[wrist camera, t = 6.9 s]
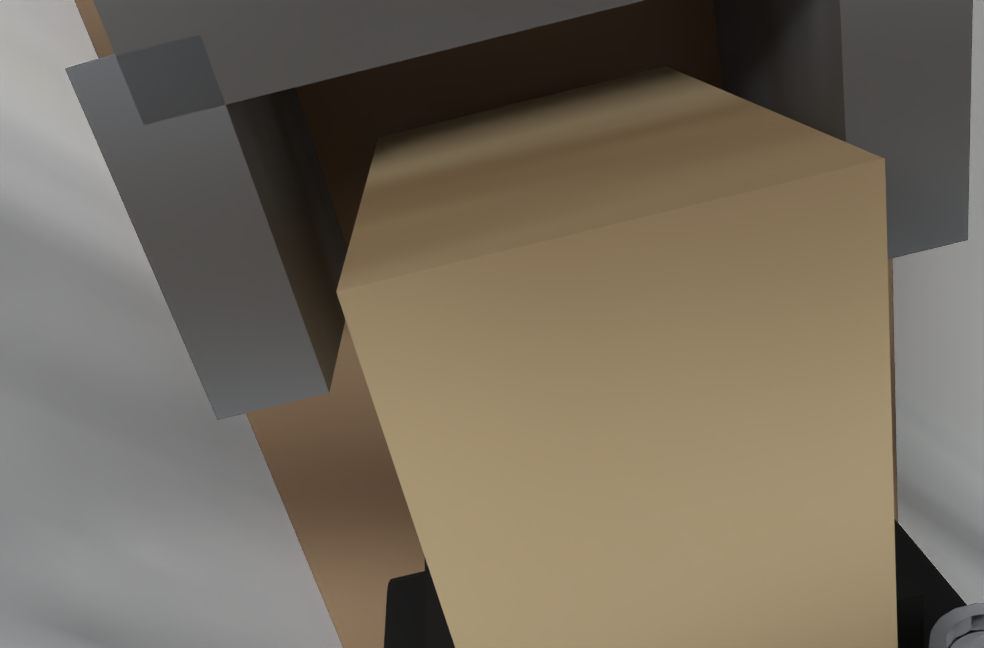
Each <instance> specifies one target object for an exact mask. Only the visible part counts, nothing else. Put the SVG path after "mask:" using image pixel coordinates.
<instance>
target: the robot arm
mask: <svg viewBox="0 0 984 648" xmlns="http://www.w3.org/2000/svg"><path fill="white" fill-rule="evenodd" d="M894 525H895V564H896V602H897V641H898V648H984V603H981V604H971V605H966V604H965V602H964V601H963V600H962V599H961V598H960V596H959V595H958V594H957V593H956V592H955V590H954V589H953V588H952V587H951V586H950V584H949V583H948V582H947V581H946V580H945V578H944V577H943V576H942V575H941V574H940V573H939V571H938V570H937V569H936V568H935V567H934V565H933V564H932V563H931V562H930V561H929V559H928V558H927V557H926V556H925V555H924V553H923V552H922V551H921V550H920V549H919V547H918V546H917V545H916V544H915V543H914V542H913V540H912V539H911V538H910V537H909V536H908V534H907V533H906V532H905V531H904V530H903V528H902V527H901V526H900V525H899V524H898V522H897V521H896V520H895V519H894ZM384 648H455V645H454V642H453V639H452V636H451V633H450V630H449V627H448V625H447V622H446V619H445V616H444V613H443V610H442V607H441V604H440V601H439V598H438V595H437V592H436V589H435V586H434V583H433V580H432V577H431V574H430V571H429V568H428V565H427V562H426V559H425V571H422V572H418V573H414V574H410V575H405V576H401V577H397V578H393V579H390V581H389V583H388V588H387V600H386V617H385V634H384Z"/></svg>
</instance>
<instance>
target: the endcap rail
mask: <svg viewBox="0 0 984 648" xmlns="http://www.w3.org/2000/svg"><path fill="white" fill-rule="evenodd" d="M75 3H76V5H77V7H78V10H79V12H80V15H81V17H82V19H83V22H84V24H85V27H86V29H87V32H88V34H89V36H90V39H91V41H92V44H93V46H94V48H95V51H96V53H97V56H98V58H99V59H96V60H92V61H89V62H86V63H82V64H79V65H76V66H73V67H69V68H66V69H65V70H66V72H67V74H68V76H69V79H70V81H71V83H72V86H73V88H74V90H75V93H76V95H77V97H78V100H79V102H80V104H81V106H82V109H83V111H84V113H85V116H86V118H87V120H88V123H89V125H90V127H91V129H92V132H93V134H94V136H95V139H96V141H97V143H98V146H99V148H100V150H101V153H102V155H103V157H104V159H105V162H106V164H107V166H108V169H109V171H110V173H111V176H112V178H113V180H114V182H115V185H116V187H117V189H118V192H119V194H120V196H121V199H122V201H123V203H124V205H125V208H126V210H127V212H128V215H129V217H130V219H131V222H132V224H133V226H134V229H135V231H136V233H137V235H138V238H139V240H140V242H141V245H142V247H143V249H144V252H145V254H146V256H147V258H148V261H149V263H150V265H151V268H152V270H153V272H154V275H155V277H156V279H157V281H158V284H159V286H160V288H161V291H162V293H163V295H164V298H165V300H166V302H167V305H168V307H169V309H170V311H171V314H172V316H173V318H174V321H175V323H176V325H177V328H178V330H179V332H180V334H181V337H182V339H183V341H184V344H185V346H186V348H187V351H188V353H189V355H190V358H191V360H192V362H193V364H194V367H195V369H196V371H197V374H198V376H199V378H200V381H201V383H202V385H203V387H204V390H205V392H206V394H207V397H208V399H209V401H210V404H211V406H212V408H213V410H214V413H215V415H216V417H217V420H219V419H223V418H227V417H231V416H235V415H240V414H244V413H246V415H247V417H248V419H249V422H250V424H251V427H252V429H253V431H254V434H255V436H256V439H257V441H258V443H259V446H260V448H261V451H262V453H263V455H264V458H265V460H266V463H267V465H268V468H269V470H270V472H271V475H272V477H273V480H274V482H275V484H276V487H277V489H278V492H279V494H280V496H281V499H282V501H283V504H284V506H285V508H286V511H287V513H288V516H289V518H290V520H291V523H292V525H293V528H294V530H295V533H296V535H297V537H298V540H299V542H300V545H301V547H302V549H303V552H304V554H305V557H306V559H307V561H308V564H309V566H310V569H311V571H312V573H313V576H314V578H315V581H316V583H317V586H318V588H319V590H320V593H321V595H322V598H323V600H324V602H325V605H326V607H327V610H328V612H329V614H330V617H331V619H332V622H333V624H334V626H335V629H336V631H337V634H338V636H339V639H340V641H341V643H342V646H343V648H384V634H385V617H386V600H387V588H388V583H389V581H390V579H393V578H397V577H401V576H405V575H410V574H414V573H418V572H422V571H425V556H424V553H423V550H422V547H421V544H420V541H419V538H418V535H417V532H416V529H415V526H414V523H413V520H412V517H411V514H410V511H409V508H408V505H407V502H406V499H405V496H404V493H403V490H402V487H401V484H400V481H399V478H398V475H397V472H396V469H395V466H394V463H393V460H392V457H391V454H390V451H389V448H388V445H387V442H386V439H385V436H384V433H383V430H382V427H381V424H380V421H379V418H378V415H377V412H376V409H375V406H374V403H373V400H372V397H371V394H370V391H369V388H368V385H367V382H366V379H365V376H364V373H363V370H362V367H361V364H360V361H359V358H358V355H357V352H356V349H355V346H354V343H353V340H352V337H351V334H350V331H349V329H348V326H347V323H346V320H345V317H344V314H343V311H342V308H341V305H340V302H339V299H338V296H337V293H336V291H337V287H338V284H339V280H340V276H341V273H342V269H343V265H344V262H345V258H346V254H347V251H348V247H349V243H350V240H351V236H352V232H353V229H354V225H355V221H356V218H357V214H358V210H359V207H360V203H361V199H362V196H363V192H364V188H365V185H366V181H367V177H368V174H369V170H370V166H371V163H372V159H373V155H374V152H375V148H376V144H377V141H378V137H382V136H386V135H390V134H394V133H398V132H402V131H406V130H410V129H414V128H418V127H422V126H427V125H431V124H435V123H439V122H443V121H447V120H451V119H455V118H459V117H463V116H467V115H471V114H475V113H479V112H483V111H487V110H491V109H495V108H499V107H503V106H507V105H512V104H516V103H520V102H524V101H528V100H532V99H536V98H540V97H544V96H548V95H552V94H556V93H560V92H564V91H568V90H572V89H576V88H580V87H584V86H588V85H592V84H597V83H601V82H605V81H609V80H613V79H617V78H621V77H625V76H629V75H633V74H637V73H641V72H645V71H649V70H653V69H657V68H661V67H665V66H667V67H669V68H672V69H674V70H676V71H679V72H681V73H683V74H686V75H688V76H690V77H693V78H695V79H698V80H700V81H702V82H705V83H707V84H709V85H712V86H714V87H716V88H719V89H721V90H724V91H726V92H728V93H731V94H733V95H735V96H738V97H740V98H743V99H745V100H747V101H750V102H752V103H754V104H757V105H759V106H761V107H764V108H766V109H769V110H771V111H773V112H776V113H778V114H780V115H783V116H785V117H787V118H790V119H792V120H795V121H797V122H799V123H802V124H804V125H806V126H809V127H811V128H813V129H816V130H818V131H821V132H823V133H825V134H828V135H830V136H832V137H835V138H837V139H839V140H842V141H844V142H847V143H849V144H851V145H854V146H856V147H858V148H861V149H863V150H866V151H868V152H870V153H873V154H875V155H877V156H880V157H882V158H884V159H885V179H886V217H887V256H888V294H889V333H890V371H891V410H892V448H893V487H894V519H895V520H896V521H897V522H898V509H897V461H896V413H895V365H894V317H893V269H892V258H895V257H899V256H903V255H907V254H912V253H916V252H920V251H924V250H928V249H933V248H937V247H941V246H945V245H949V244H953V243H958V242H962V241H966V240H968V201H969V153H970V105H971V56H972V8H973V0H75Z"/></svg>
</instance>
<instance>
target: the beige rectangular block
mask: <svg viewBox="0 0 984 648" xmlns="http://www.w3.org/2000/svg"><path fill="white" fill-rule="evenodd" d="M336 293H337V296H338V299H339V302H340V305H341V308H342V311H343V314H344V317H345V320H346V323H347V326H348V329H349V331H350V334H351V337H352V340H353V343H354V346H355V349H356V352H357V355H358V358H359V361H360V364H361V367H362V370H363V373H364V376H365V379H366V382H367V385H368V388H369V391H370V394H371V397H372V400H373V403H374V406H375V409H376V412H377V415H378V418H379V421H380V424H381V427H382V430H383V433H384V436H385V439H386V442H387V445H388V448H389V451H390V454H391V457H392V460H393V463H394V466H395V469H396V472H397V475H398V478H399V481H400V484H401V487H402V490H403V493H404V496H405V499H406V502H407V505H408V508H409V511H410V514H411V517H412V520H413V523H414V526H415V529H416V532H417V535H418V538H419V541H420V544H421V547H422V550H423V553H424V556H425V559H426V562H427V565H428V568H429V571H430V574H431V577H432V580H433V583H434V586H435V589H436V592H437V595H438V598H439V601H440V604H441V607H442V610H443V613H444V616H445V619H446V622H447V625H448V627H449V630H450V633H451V636H452V639H453V642H454V645H455V648H898V641H897V602H896V564H895V525H894V487H893V448H892V410H891V371H890V333H889V294H888V256H887V217H886V179H885V159H884V158H882V157H880V156H877V155H875V154H873V153H870V152H868V151H866V150H863V149H861V148H858V147H856V146H854V145H851V144H849V143H847V142H844V141H842V140H839V139H837V138H835V137H832V136H830V135H828V134H825V133H823V132H821V131H818V130H816V129H813V128H811V127H809V126H806V125H804V124H802V123H799V122H797V121H795V120H792V119H790V118H787V117H785V116H783V115H780V114H778V113H776V112H773V111H771V110H769V109H766V108H764V107H761V106H759V105H757V104H754V103H752V102H750V101H747V100H745V99H743V98H740V97H738V96H735V95H733V94H731V93H728V92H726V91H724V90H721V89H719V88H716V87H714V86H712V85H709V84H707V83H705V82H702V81H700V80H698V79H695V78H693V77H690V76H688V75H686V74H683V73H681V72H679V71H676V70H674V69H672V68H669V67H667V66H665V67H661V68H657V69H653V70H649V71H645V72H641V73H637V74H633V75H629V76H625V77H621V78H617V79H613V80H609V81H605V82H601V83H597V84H592V85H588V86H584V87H580V88H576V89H572V90H568V91H564V92H560V93H556V94H552V95H548V96H544V97H540V98H536V99H532V100H528V101H524V102H520V103H516V104H512V105H507V106H503V107H499V108H495V109H491V110H487V111H483V112H479V113H475V114H471V115H467V116H463V117H459V118H455V119H451V120H447V121H443V122H439V123H435V124H431V125H427V126H422V127H418V128H414V129H410V130H406V131H402V132H398V133H394V134H390V135H386V136H382V137H378V141H377V144H376V148H375V152H374V155H373V159H372V163H371V166H370V170H369V174H368V177H367V181H366V185H365V188H364V192H363V196H362V199H361V203H360V207H359V210H358V214H357V218H356V221H355V225H354V229H353V232H352V236H351V240H350V243H349V247H348V251H347V254H346V258H345V262H344V265H343V269H342V273H341V276H340V280H339V284H338V287H337V291H336Z"/></svg>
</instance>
